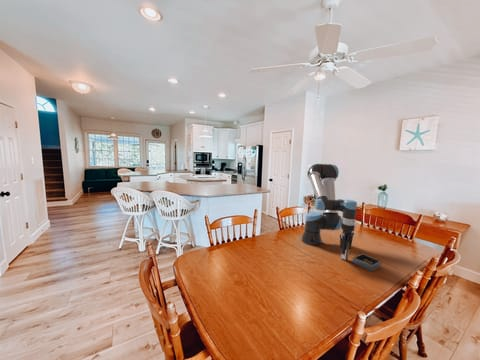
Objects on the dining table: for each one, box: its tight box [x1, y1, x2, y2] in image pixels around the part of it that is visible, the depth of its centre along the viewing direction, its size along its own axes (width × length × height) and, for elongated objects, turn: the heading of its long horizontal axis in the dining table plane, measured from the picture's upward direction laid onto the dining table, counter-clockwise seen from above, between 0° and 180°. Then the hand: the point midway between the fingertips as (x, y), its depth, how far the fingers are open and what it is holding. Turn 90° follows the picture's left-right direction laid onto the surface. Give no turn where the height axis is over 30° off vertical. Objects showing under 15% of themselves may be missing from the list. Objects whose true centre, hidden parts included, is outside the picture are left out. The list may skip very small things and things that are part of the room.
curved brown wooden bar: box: [340, 242, 350, 262], centre depth 134 cm, size 3×2×12 cm, turn 33°
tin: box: [352, 253, 382, 273], centre depth 129 cm, size 12×12×4 cm
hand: (344, 258), depth 135 cm, fingers closed on curved brown wooden bar, 2 cm apart
